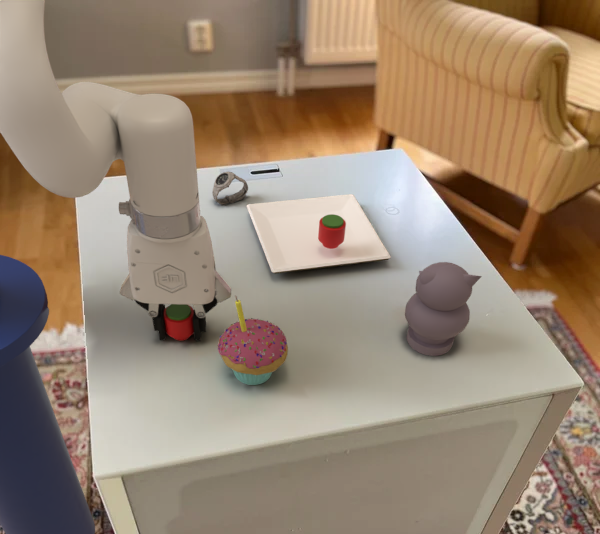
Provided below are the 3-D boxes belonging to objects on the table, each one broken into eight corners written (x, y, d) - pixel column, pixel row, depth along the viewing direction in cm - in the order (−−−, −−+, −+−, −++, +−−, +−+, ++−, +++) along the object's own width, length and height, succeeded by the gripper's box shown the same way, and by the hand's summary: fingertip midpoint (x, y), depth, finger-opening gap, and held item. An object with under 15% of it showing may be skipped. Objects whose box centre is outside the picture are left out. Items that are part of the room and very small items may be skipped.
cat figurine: (456, 322, 90) (478, 251, 81) (465, 361, 85) (489, 289, 76) (397, 318, 90) (412, 247, 81) (401, 357, 85) (418, 285, 76)
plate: (352, 203, 110) (353, 192, 109) (389, 267, 98) (391, 256, 97) (246, 214, 106) (246, 203, 105) (271, 282, 94) (272, 271, 93)
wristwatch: (210, 199, 109) (208, 172, 105) (243, 192, 111) (242, 165, 107) (218, 209, 107) (217, 182, 103) (251, 202, 109) (251, 174, 105)
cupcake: (213, 390, 79) (207, 317, 70) (227, 344, 85) (224, 271, 76) (281, 400, 79) (284, 327, 70) (291, 353, 84) (295, 280, 76)
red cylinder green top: (318, 251, 97) (320, 227, 93) (317, 236, 99) (319, 212, 96) (344, 252, 97) (347, 228, 94) (342, 237, 99) (345, 213, 96)
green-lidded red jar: (173, 348, 84) (170, 324, 81) (161, 330, 86) (157, 306, 83) (201, 338, 86) (199, 314, 82) (188, 321, 88) (186, 297, 85)
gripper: (85, 230, 69) (113, 351, 83) (239, 234, 70) (242, 354, 84) (98, 193, 74) (123, 314, 88) (241, 198, 75) (244, 316, 89)
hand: (181, 332), depth 86 cm, fingers closed on green-lidded red jar, 4 cm apart
